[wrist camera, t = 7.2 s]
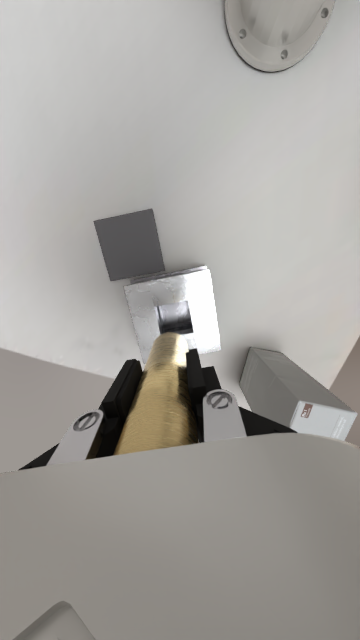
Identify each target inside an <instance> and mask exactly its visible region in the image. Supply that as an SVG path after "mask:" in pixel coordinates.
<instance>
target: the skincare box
mask: <svg viewBox="0 0 360 640" xmlns="http://www.w3.org/2000/svg"><path fill="white" fill-rule="evenodd" d="M239 385H240V388H241V390H242V392H243V394H244V396H245V398H246V400H247V402H248V404H249V406H250V408H251V410H252V412H253V413H256V414H258V415H260V416H263V417H265V418H268V419H270V420H272V421H275V422H277V423H279V424H282V425H284V426H287V427H289V428H291V429H293V430H295V431H296V432H297V433H303V434H313V435H319V436H325V437H331V438H335V439H339V440H342V441H344V440H345V438H346V436H347V434H348V432H349V430H350V428H351V426H352V424H353V422H354V420H355V418H356V416H357V413H356V412H355V411H353V410H352V409H351V408H350V407H348V406H347V405H346V404H345V403H344V402H342V401H341V400H340V399H339V398H337V397H336V396H335V395H334V394H333V393H331V392H330V391H329V390H328V389H326V388H325V387H324V386H323V385H321V384H320V383H319V382H318V381H316V380H315V379H314V378H313V377H311V376H310V375H309V374H308V373H306V372H305V371H304V370H303V369H301V368H300V367H299V366H298V365H296V364H295V363H294V362H293V361H291V360H290V359H289V358H288V357H286V356H285V355H284V354H283V353H278V352H273V351H267V350H262V349H257V348H252V347H250V349H249V353H248V356H247V360H246V363H245V367H244V370H243V374H242V377H241V381H240V384H239Z"/></svg>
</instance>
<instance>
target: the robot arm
mask: <svg viewBox="0 0 360 640" xmlns="http://www.w3.org/2000/svg"><path fill="white" fill-rule="evenodd" d="M334 3H335V0H225V18H226V25H227V29H228V33H229V36H230V39H231V41H232V43H233V46H234V47H235V49H236V50H237V52H238V54H239V55H240V56H241V57H242V58H243V59H244V60H245V61H246V62H247V63H248V64H250V65H251V66H253V67H254V68H257V69H260V70H263V71H271V72H274V71H280V70H284V69H286V68H289V67H291V66H293V65H295V64H296V63H297V62H299V61H300V60H302V59H303V58H304V57H305V56H306V55H307V54H308V53H309V52H310V50H311V49H312V48H313V46H314V45H315V44H316V42H317V41H318V39H319V37H320V36H321V34H322V32H323V30H324V29H325V27H326V25H327V23H328V21H329V19H330V16H331V13H332V10H333V7H334ZM186 365H187V379H188V390H189V396H190V400H191V405H192V410H193V412H194V415H195V418H196V424H197V433H198V440H199V443H196V444H189V445H182V446H175V447H168V448H162V449H155V450H148V451H141V452H135V453H128V454H121V455H115V456H113V454H114V452H115V449H116V446H117V443H118V440H119V438H120V435H121V432H122V429H123V427H124V424H125V421H126V418H127V415H128V413H129V410H130V407H131V404H132V401H133V399H134V396H135V393H136V390H137V388H138V385H139V382H140V379H141V376H142V374H143V372H142V368H141V364H140V361H137V360H136V359H132V360H127V361H126V362H125V364H124V365H123V367H122V369H121V370H120V372H119V374H118V376H117V377H116V379H115V381H114V383H113V384H112V386H111V388H110V389H109V391H108V393H107V395H106V396H105V398H104V399H103V401H102V403H101V405H100V407H99V409H96V410H90V411H87V412H85V413H83V414H82V415H80V416H79V417H77V418H76V419H75V420H74V421H73V423H72V424H71V425H70V427H69V429H68V430H67V432H66V434H65V435H64V437H63V439H62V440H61V442H60V443H59V444H57V445H56V446H54V447H53V448H51V449H50V450H48V451H47V452H45V453H44V454H42V455H41V456H39V457H38V458H36V459H35V460H33V461H31V462H30V463H29V464H27V465H25V466H24V467H22V468H21V469H19V470H18V471H11V472H5V473H0V640H360V447H359V446H356V445H354V444H352V443H349V442H345V441H342V440H339V439H335V438H331V437H325V436H319V435H313V434H303V433H297V432H296V431H295V430H293V429H291V428H289V427H287V426H284V425H282V424H279V423H277V422H275V421H272V420H270V419H268V418H265V417H263V416H260V415H258V414H256V413H253V412H251V411H249V410H246V409H244V408H241V407H239V406H238V404H237V400H236V397H235V396H234V394H232V393H231V392H229V391H227V390H223V389H221V386H220V383H219V380H218V378H217V375H216V372H215V369H214V366H211V367H205V368H201V364H200V360H199V355H198V351H197V348H195V349H189V352H186ZM201 442H203V443H201Z"/></svg>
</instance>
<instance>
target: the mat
mask: <svg viewBox="0 0 360 640" xmlns="http://www.w3.org/2000/svg"><path fill="white" fill-rule="evenodd" d="M94 224H95V228H96V231H97V235H98V238H99V242H100V246H101V249H102V253H103V256H104V260H105V263H106V267H107V270H108V274H109V277H110V281H114V280H119V279H124V278H129V277H135V276H140V275H145V274H150V273H155V272H160V271H165V268H164V264H163V259H162V254H161V249H160V244H159V239H158V234H157V229H156V224H155V219H154V215H153V210H152V209H148V210H143V211H139V212H134V213H129V214H125V215H120V216H115V217H111V218H106V219H101V220H97V221H94Z"/></svg>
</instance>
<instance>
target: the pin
mask: <svg viewBox="0 0 360 640" xmlns="http://www.w3.org/2000/svg"><path fill="white" fill-rule="evenodd" d="M186 352H189V351H188V344H187V342H186V340H185V339H184V338H183V337H182V336H181V335H179V334H177V333H173V332H167V333H163V334H161V335H160V336H158V337H157V338H156V339H155V341H154V343H153V346H152V348H151V351H150V354H149V357H148V360H147V362H146V365H145V368H144V371H143V374H142V376H141V379H140V382H139V385H138V388H137V390H136V393H135V396H134V399H133V401H132V404H131V407H130V410H129V413H128V415H127V418H126V421H125V424H124V427H123V429H122V432H121V435H120V438H119V440H118V443H117V446H116V449H115V452H114V454H113V456H115V455H121V454H128V453H135V452H141V451H148V450H155V449H162V448H168V447H175V446H182V445H189V444H196V443H199V442H198V433H197V424H196V418H195V415H194V412H193V410H192V405H191V400H190V396H189V390H188V379H187V365H186Z"/></svg>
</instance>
